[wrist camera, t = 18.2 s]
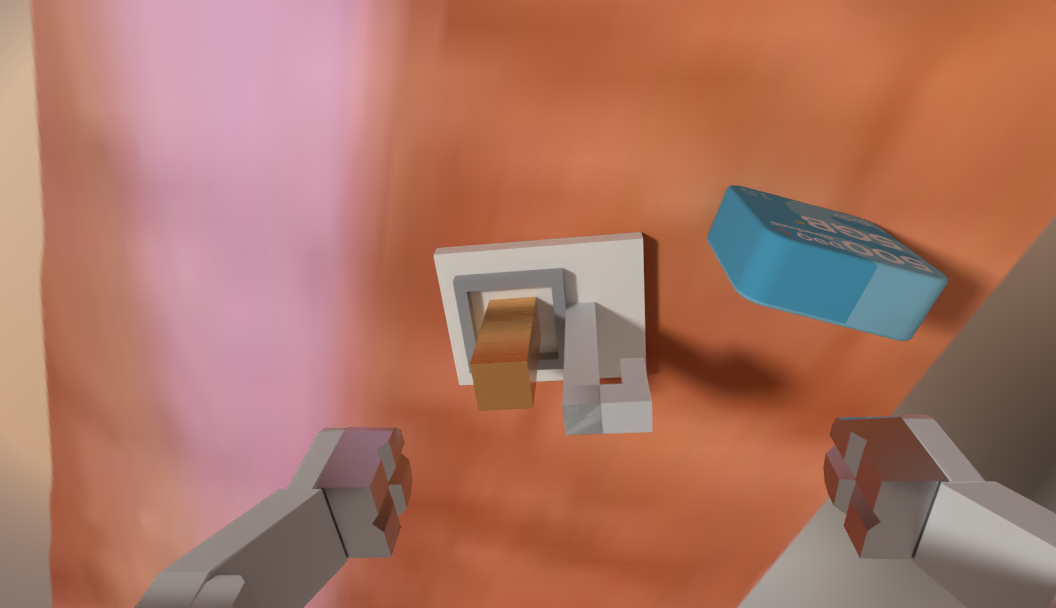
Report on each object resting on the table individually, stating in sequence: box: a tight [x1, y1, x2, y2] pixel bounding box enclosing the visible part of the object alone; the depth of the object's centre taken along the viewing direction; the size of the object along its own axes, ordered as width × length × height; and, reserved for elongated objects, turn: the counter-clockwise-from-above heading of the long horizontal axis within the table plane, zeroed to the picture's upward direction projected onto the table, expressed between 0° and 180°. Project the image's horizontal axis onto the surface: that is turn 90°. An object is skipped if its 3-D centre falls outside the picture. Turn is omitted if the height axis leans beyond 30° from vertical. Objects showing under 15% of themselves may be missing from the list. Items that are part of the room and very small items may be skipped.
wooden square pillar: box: [470, 297, 541, 411], centre depth 45 cm, size 4×4×10 cm
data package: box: [707, 186, 948, 341], centre depth 40 cm, size 12×4×12 cm, turn 76°
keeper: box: [434, 232, 652, 435], centre depth 44 cm, size 17×13×16 cm
